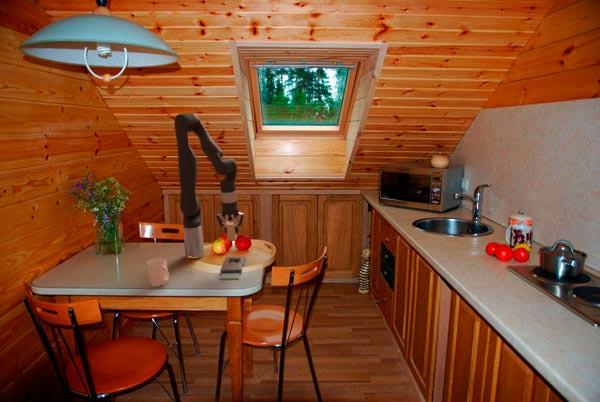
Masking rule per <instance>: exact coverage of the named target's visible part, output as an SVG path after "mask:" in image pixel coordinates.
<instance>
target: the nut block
mask: <svg viewBox="0 0 600 402" xmlns="http://www.w3.org/2000/svg"><path fill="white" fill-rule="evenodd" d="M226 227H227V234H226V236H227V238H226V239H227V241H237V238H238V235H237V234H238V233H237V234H236V232H235V224H234V222H233V221H228V223H227V225H226Z"/></svg>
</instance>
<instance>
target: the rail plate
mask: <svg viewBox="0 0 600 402" xmlns="http://www.w3.org/2000/svg"><path fill="white" fill-rule="evenodd" d="M245 260H246V261H247V259H246V256H245V255H244V256H226V257H225V259H224V261H223V263H222V266H221V268H220V275H221V274H222V273H240V274H242V273H243V270H242V267H243V265H244V266H245V264H244V262H245V263H246V261H245ZM230 261H239V262H230ZM243 268H244V267H243Z"/></svg>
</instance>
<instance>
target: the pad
mask: <svg viewBox="0 0 600 402" xmlns="http://www.w3.org/2000/svg"><path fill="white" fill-rule="evenodd" d="M240 275H241V273H222V274H221V273H220V276H219V280H220V281H221V280H239V279H240V277H241V276H240Z"/></svg>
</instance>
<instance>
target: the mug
mask: <svg viewBox="0 0 600 402" xmlns="http://www.w3.org/2000/svg"><path fill="white" fill-rule="evenodd" d="M146 266H147V267H146V268H147V275H148V281H149V285H150V284H151V285H154V286H159V285H163V286H165V285H167V284H168V283H169V281H170V273H169V270H168V263H167V259H166V258H162V257H159V258H157V257H156V258H152V259H150V260H148V261H147V262H146ZM166 283H167V284H166ZM164 284H165V285H164ZM151 285H150V286H151ZM154 286H153V287H154ZM159 287H160V286H159Z"/></svg>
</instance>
